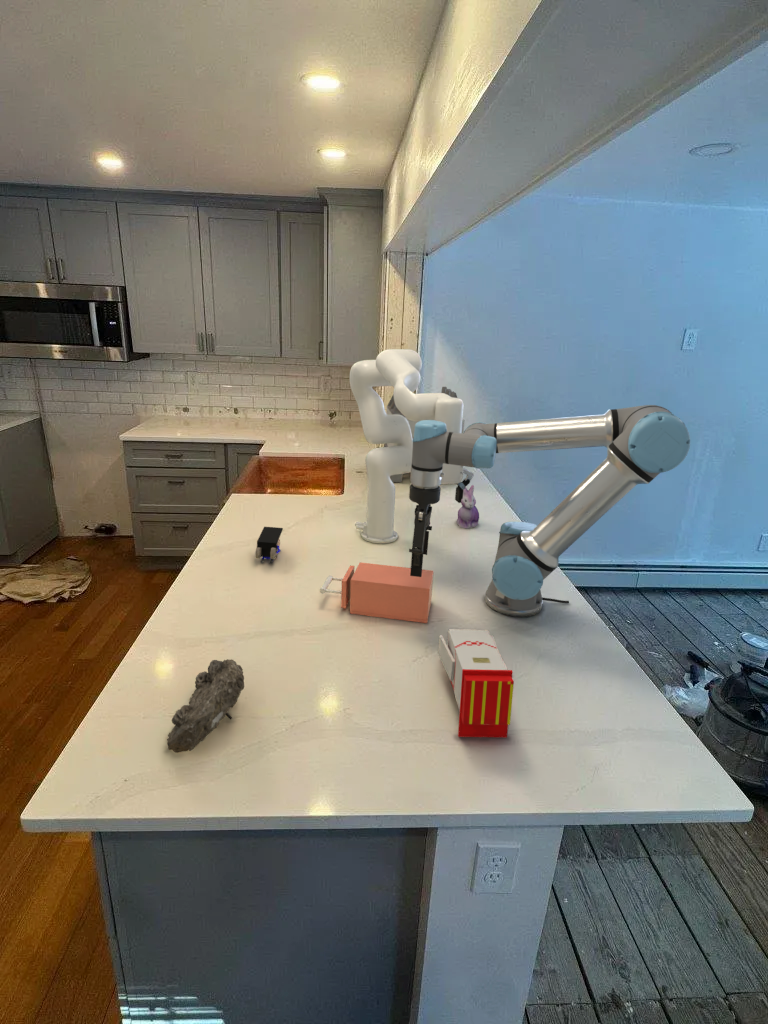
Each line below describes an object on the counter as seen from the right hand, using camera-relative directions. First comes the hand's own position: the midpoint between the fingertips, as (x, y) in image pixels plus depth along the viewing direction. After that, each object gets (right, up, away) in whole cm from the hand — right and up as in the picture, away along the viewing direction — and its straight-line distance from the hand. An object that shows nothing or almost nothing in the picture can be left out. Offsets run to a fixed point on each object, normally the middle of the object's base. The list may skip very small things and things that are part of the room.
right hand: (419, 564), depth 145 cm
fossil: (-42, -26, -37) cm, 61 cm away
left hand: (+8, +16, +17) cm, 25 cm away
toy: (+9, -24, -26) cm, 37 cm away
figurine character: (-45, -1, +33) cm, 55 cm away
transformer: (+8, +32, +130) cm, 134 cm away
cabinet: (-7, -12, +6) cm, 15 cm away
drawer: (-13, -11, +6) cm, 18 cm away
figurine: (+22, +9, +67) cm, 71 cm away
